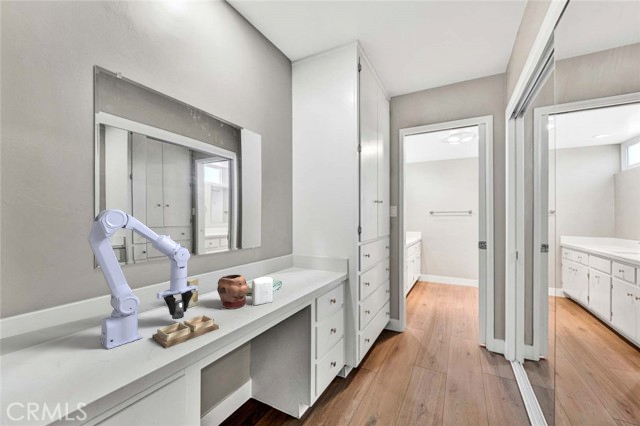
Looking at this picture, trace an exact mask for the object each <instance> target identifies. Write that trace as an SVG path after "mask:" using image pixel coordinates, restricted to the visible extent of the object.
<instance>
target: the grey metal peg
mask: <svg viewBox="0 0 640 426" xmlns="http://www.w3.org/2000/svg"><path fill="white" fill-rule="evenodd" d="M184 317H185V312H184V300H182V299H180V300H179V299H177V300H175V305H174V315H171V318H172V320H181V319H182V318H184Z"/></svg>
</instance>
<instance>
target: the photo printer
mask: <svg viewBox="0 0 640 426" xmlns="http://www.w3.org/2000/svg"><path fill="white" fill-rule="evenodd" d="M251 281H252V296H251V305H252V306H258V305H262V304H269V303H273V297H274V296H273V295H274V293H273V281H274V279H273V278H272V277H268V276H262V277H258V278H255V279H253V280H251Z"/></svg>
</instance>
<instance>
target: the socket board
mask: <svg viewBox="0 0 640 426" xmlns="http://www.w3.org/2000/svg"><path fill="white" fill-rule="evenodd" d="M219 327H220V326H219V324H217V323H215V320H214V318H212V317H209V316H207V315H205V314H202V315H199V316H196V317H193V318H190V319H186V320H183V323H182V322H177V323H174V324H171V325H167V326H164V327H161V328H158V329H157V330H156V333H154V334H152V337H151V338H152V339H153V340H154V341H155V342H157V343H158V344H160V345H161V346H162V347H164V348H166V349H168V348H171V347H174V346H176V345H179V344H181V343H184V342H187V341H189V340H192V339H195V338H198V337H200V336H203V335H205V334H208V333H211V332H213V331H217V330H218V329H219Z"/></svg>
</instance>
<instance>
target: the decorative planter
mask: <svg viewBox="0 0 640 426" xmlns="http://www.w3.org/2000/svg"><path fill="white" fill-rule="evenodd" d="M247 283H248V282H247V280H246V277H245V276H244V275H241V274H229V275H225V276H222V277H220V278H219V279H218V280H217V288H216V290H217V294H218V296H219V299H220V301H221V304H222V307H223V308H225V309H238V308H241V307H244V306H245V305H246V300H247V297H246V296H247V295H245V294H246V292H248V290H249V286H248V284H247Z"/></svg>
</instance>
